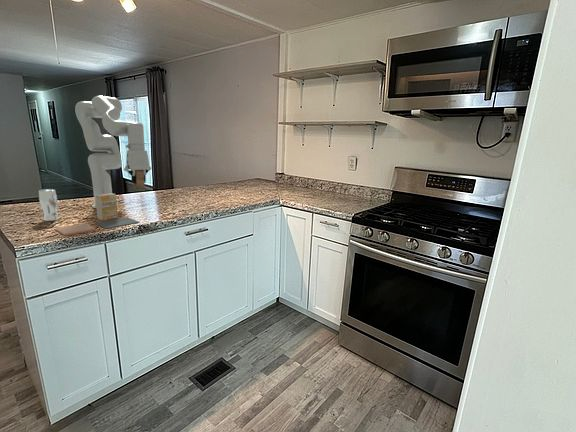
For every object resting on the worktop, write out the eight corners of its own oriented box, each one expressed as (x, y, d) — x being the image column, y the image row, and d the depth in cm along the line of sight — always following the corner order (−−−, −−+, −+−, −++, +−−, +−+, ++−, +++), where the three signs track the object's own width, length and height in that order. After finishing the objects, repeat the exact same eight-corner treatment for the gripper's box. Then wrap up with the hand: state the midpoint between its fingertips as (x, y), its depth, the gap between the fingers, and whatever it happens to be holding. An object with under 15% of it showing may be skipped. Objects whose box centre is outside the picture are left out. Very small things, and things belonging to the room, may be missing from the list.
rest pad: (55, 229, 141) (55, 228, 141) (85, 224, 150) (85, 223, 150) (64, 235, 134) (64, 234, 133) (95, 230, 143) (95, 228, 143)
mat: (94, 223, 153) (94, 222, 153) (127, 217, 165) (127, 217, 165) (105, 228, 145) (105, 228, 145) (139, 222, 157) (139, 221, 157)
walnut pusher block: (133, 188, 163) (132, 169, 161) (141, 187, 166) (139, 169, 164) (137, 189, 161) (136, 170, 158) (144, 188, 164) (143, 170, 162)
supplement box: (103, 221, 157) (100, 196, 154) (97, 219, 159) (94, 194, 156) (118, 218, 164) (116, 193, 161) (113, 216, 166) (110, 192, 163)
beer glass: (51, 221, 153) (46, 191, 149) (39, 220, 154) (34, 190, 150) (63, 218, 159) (59, 189, 155) (51, 217, 160) (47, 188, 157)
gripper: (123, 147, 150) (125, 185, 154) (155, 148, 162) (157, 182, 167) (116, 146, 154) (119, 183, 159) (148, 146, 167) (150, 180, 172)
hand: (138, 182), depth 163 cm, fingers closed on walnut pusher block, 4 cm apart
